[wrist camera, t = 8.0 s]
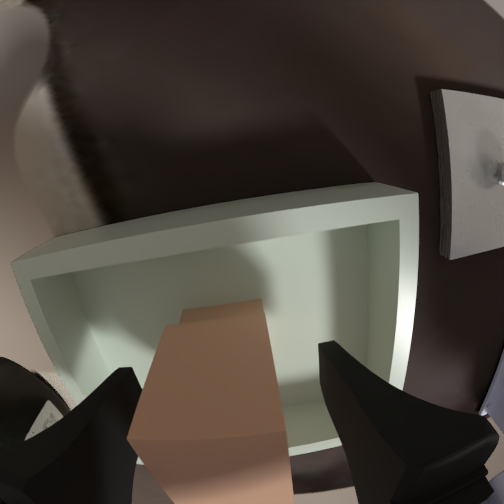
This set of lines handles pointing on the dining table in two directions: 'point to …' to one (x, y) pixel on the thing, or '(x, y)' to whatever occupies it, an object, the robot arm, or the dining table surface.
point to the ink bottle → (25, 405)
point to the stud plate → (469, 171)
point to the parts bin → (237, 288)
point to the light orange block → (215, 411)
